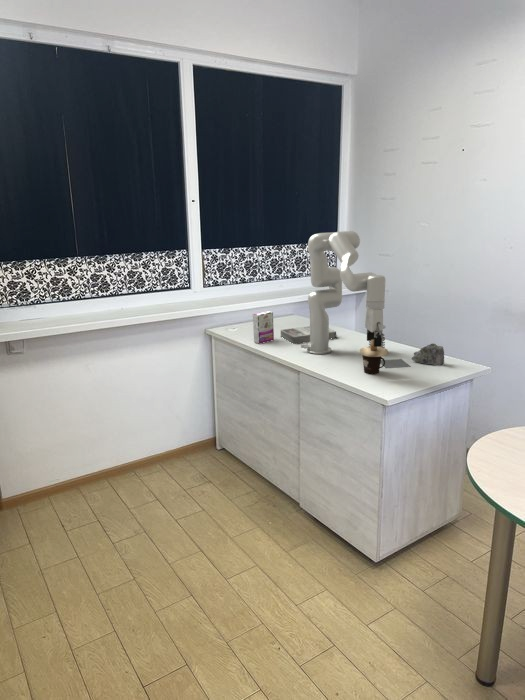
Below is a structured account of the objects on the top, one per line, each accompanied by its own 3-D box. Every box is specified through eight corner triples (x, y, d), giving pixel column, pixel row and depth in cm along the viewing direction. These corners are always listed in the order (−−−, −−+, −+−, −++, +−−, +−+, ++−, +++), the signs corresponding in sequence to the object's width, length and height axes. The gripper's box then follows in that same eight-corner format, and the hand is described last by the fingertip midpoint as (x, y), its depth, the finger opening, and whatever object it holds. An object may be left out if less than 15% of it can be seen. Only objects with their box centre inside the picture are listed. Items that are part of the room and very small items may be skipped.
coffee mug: (359, 370, 228) (359, 349, 225) (377, 369, 228) (378, 348, 226) (366, 379, 216) (367, 356, 214) (386, 378, 217) (387, 355, 214)
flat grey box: (336, 339, 283) (336, 331, 282) (293, 344, 274) (293, 337, 273) (321, 332, 300) (321, 324, 299) (280, 337, 291) (279, 329, 290)
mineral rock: (410, 362, 237) (411, 342, 234) (424, 358, 243) (425, 338, 240) (434, 369, 227) (435, 347, 224) (448, 364, 233) (449, 343, 230)
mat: (385, 369, 228) (385, 368, 228) (377, 361, 240) (377, 360, 240) (411, 367, 230) (411, 366, 229) (401, 360, 241) (401, 358, 241)
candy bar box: (268, 338, 286) (267, 310, 282) (274, 340, 283) (273, 311, 278) (253, 342, 279) (252, 313, 275) (259, 344, 276) (258, 315, 271)
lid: (364, 357, 213) (364, 344, 211) (356, 349, 224) (356, 337, 223) (391, 356, 214) (392, 343, 212) (382, 348, 226) (382, 336, 224)
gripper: (360, 301, 221) (359, 338, 226) (373, 308, 205) (371, 349, 209) (377, 300, 222) (375, 338, 227) (391, 308, 205) (389, 348, 210)
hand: (373, 343), depth 218 cm, fingers open, 9 cm apart
